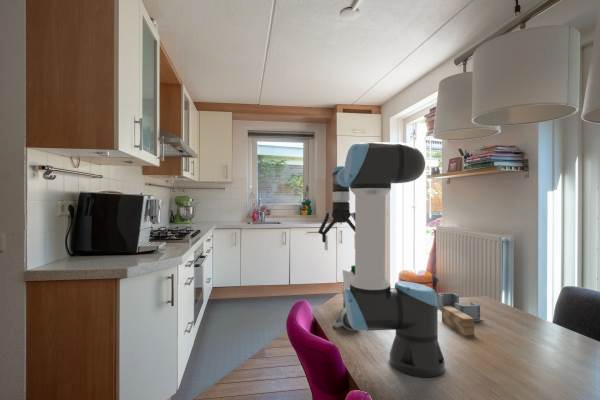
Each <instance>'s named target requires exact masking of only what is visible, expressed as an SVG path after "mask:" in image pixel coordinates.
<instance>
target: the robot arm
mask: <svg viewBox="0 0 600 400" xmlns="http://www.w3.org/2000/svg"><path fill="white" fill-rule="evenodd" d="M425 168H426V160H425V156H424V154H423V153H422V152H421V150H419V149H418V148H416V147H415V146H414V145H412V144H409V143H404V142H395V143H394V142H371V141H370V142H368V141H367V142H358V143H356V142H355V143H353V144H352V145H351V146H350V147H349V148H348V150H347V153H346V158H345V161H344V166H343V165H342V166H341V165H340V166H339V165H338V166H334V167H333V168H332V171H331V172H332V174H331V178H332V181H331V182H332V183H331V184H332V198H331V199H332V212H325V214H324V219H323V221H322V223H321V225H320V227H319V230H318V232H317V233H318V234H320V235H321V236H322V237H321V238H322V243H324V251H328V245H329V243H328V240H329V239H328V235H327V234H328V233H329V231H330V230H331V229H332V227H333V226H334V225H335V224H336V223H338V224H341V223H343V224H344V223H346V224H347V225H348V226H349V227H350V228H351V229H352V231H354V234H353V235H354V237H353V238H354V259H355V260H354V265H355V277H354V278H353V279H352V280H351V281H350V289H349V288H347V289H345V290H344V297H343V301H344V302H345V308H346V313H347V317H348V321H349V323H350V325H351V327H352V328H353V329H355V330H354V331H366V332H369V331H371V332H373V331H393V330H394V331H395V336H394V339H393V342H392V344H391V347H390V350H389V363H390V364H391V366H392V367H393V368H394V369H396V371H400V372H401V373H403V374H406V375H409V376H413V377H418V378H435V377H438V376H440V375H442V374H443V373H444V372H445V369H446V367H445V366H446V365H445V364H446V363H445V358H444V354H443V352H442V349H441V346H440V344H439V343H440V342H439V340H438V339H439V336H438V335H439V334H438V332H439V329H438V327H439V326H438V324H439V322H438V320H439V319H438V316H439V315H438V303H437V292H436V290H435V289H433V288H432V287H430V286H428V285H425V284H422V283H421V284H420V283H419V282H418V283H417V282H411V281H406V280H405V281H402V280H399V281H397V282H395V283H394V287H392V286H391V283H390V281H388V279H387V278H386V196H387V194H388V193H389V192H390V191H392V190H391V189H392V184H405V183H410V182H413V181H416V180H417V179H419V178H420V177H421V176H422V175H423V173H424V171H425ZM350 191H351V192H352V194H353V195H354V196H355V199H354V203H355V204H354V207H355V208H354V211H355V212H350V208H351V207H350V204H351V203H350V202H349V201H350ZM331 217H332V220H331V222H330V223H329V224H328V220H329V218H331ZM350 217H351V218H352V219H353V221H354V224H353V222H352V221H351V219H350ZM327 224H328V225H327ZM326 225H327V226H326ZM325 227H326V228H325Z"/></svg>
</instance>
